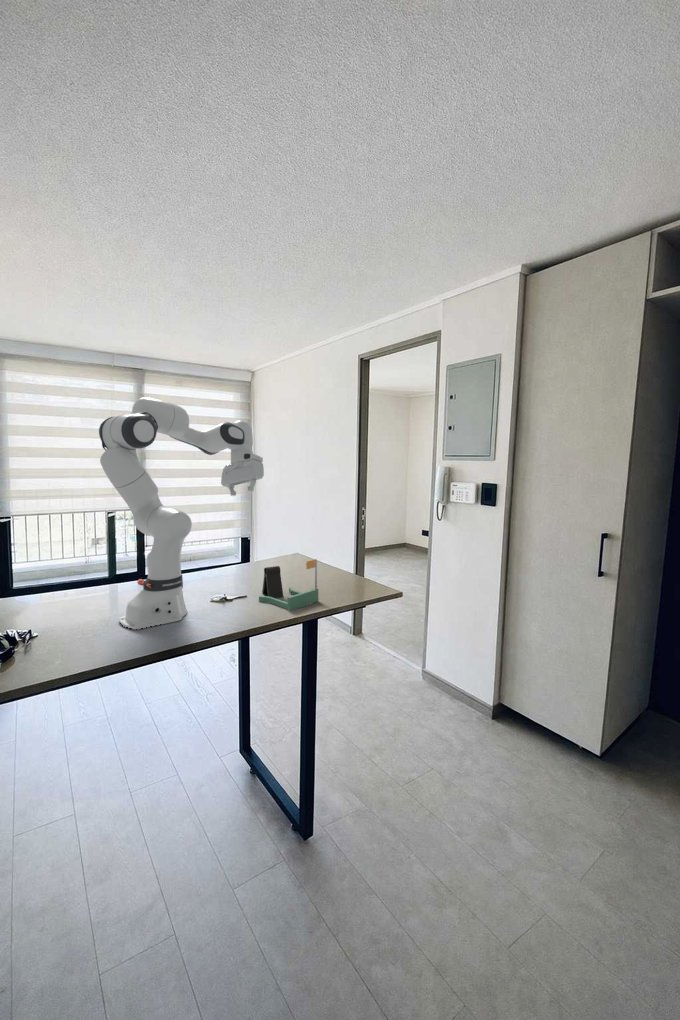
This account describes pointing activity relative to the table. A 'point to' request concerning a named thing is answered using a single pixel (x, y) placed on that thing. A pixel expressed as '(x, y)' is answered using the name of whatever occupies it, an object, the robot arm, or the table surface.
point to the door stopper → (272, 582)
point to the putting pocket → (296, 594)
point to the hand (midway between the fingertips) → (241, 493)
